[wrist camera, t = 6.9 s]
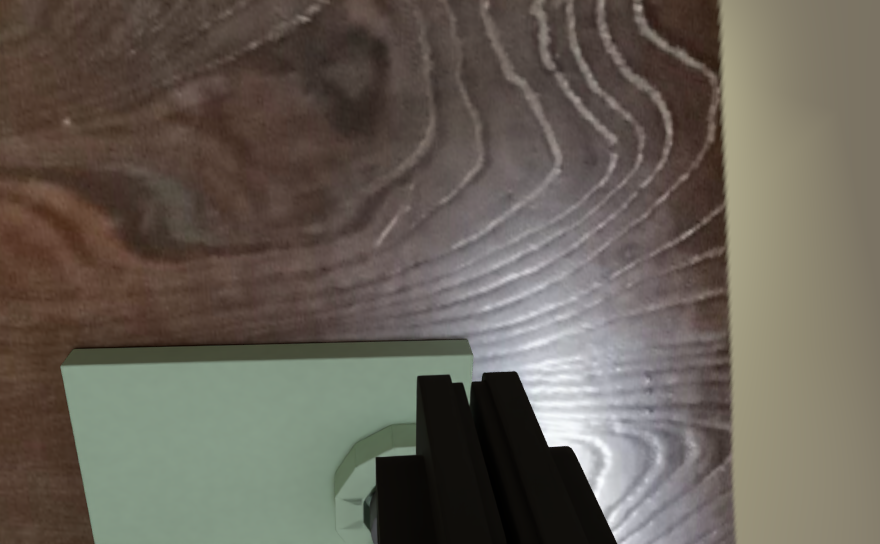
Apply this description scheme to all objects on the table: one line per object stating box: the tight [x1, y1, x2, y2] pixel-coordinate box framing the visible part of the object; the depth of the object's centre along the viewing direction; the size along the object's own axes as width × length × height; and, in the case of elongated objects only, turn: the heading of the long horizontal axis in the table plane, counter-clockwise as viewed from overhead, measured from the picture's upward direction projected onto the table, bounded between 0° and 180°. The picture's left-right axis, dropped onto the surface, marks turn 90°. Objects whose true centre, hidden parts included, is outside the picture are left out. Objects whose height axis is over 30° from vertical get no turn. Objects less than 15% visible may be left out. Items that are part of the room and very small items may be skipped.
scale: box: [61, 340, 473, 544], centre depth 29 cm, size 17×13×3 cm
